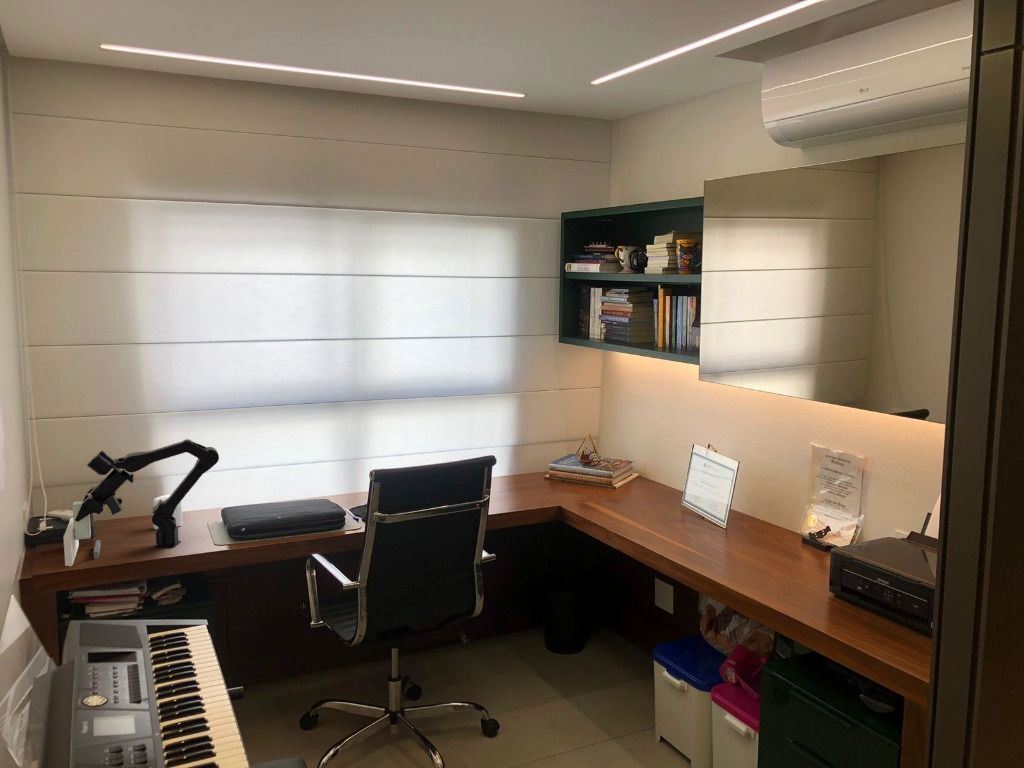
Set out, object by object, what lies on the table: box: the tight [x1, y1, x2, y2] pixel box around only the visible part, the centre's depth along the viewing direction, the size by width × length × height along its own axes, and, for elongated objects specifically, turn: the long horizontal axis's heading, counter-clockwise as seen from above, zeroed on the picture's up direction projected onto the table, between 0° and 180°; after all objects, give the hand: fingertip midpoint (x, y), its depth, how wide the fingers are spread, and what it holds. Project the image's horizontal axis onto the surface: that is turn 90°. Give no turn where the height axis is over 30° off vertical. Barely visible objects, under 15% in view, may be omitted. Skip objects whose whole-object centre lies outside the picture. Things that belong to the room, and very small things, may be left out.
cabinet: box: [72, 500, 92, 541], centre depth 280 cm, size 5×5×12 cm
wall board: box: [63, 517, 102, 567], centre depth 280 cm, size 9×24×10 cm, turn 23°
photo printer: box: [152, 494, 183, 530], centre depth 313 cm, size 10×4×12 cm, turn 123°
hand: (76, 519), depth 279 cm, fingers closed on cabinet, 5 cm apart
